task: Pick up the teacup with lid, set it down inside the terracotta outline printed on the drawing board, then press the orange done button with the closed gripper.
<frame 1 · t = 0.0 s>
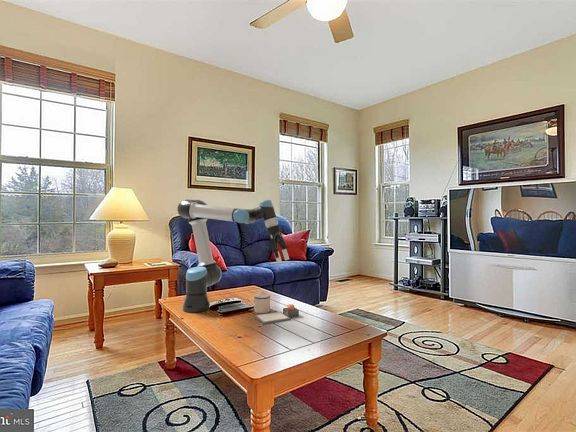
hand: (283, 261, 184), 28 cm above the table, tool tilted 20°, fingers open, 13 cm apart
drawing board: (272, 318, 170), on the table
teacup with lid: (260, 311, 183), on the table
button housing: (290, 315, 175), on the table
done button: (290, 308, 175), point 4 cm above the table, slide at 0.0 cm
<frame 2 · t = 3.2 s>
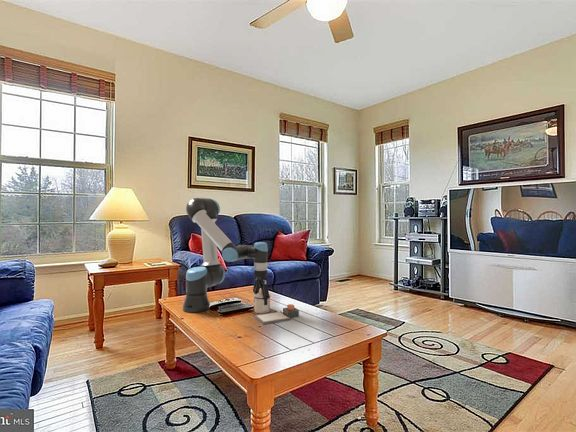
hand: (260, 307, 183), 2 cm above the table, tool pointing down, fingers closed on teacup with lid, 12 cm apart
teacup with lid: (260, 311, 183), on the table, touching gripper
everything else where it was.
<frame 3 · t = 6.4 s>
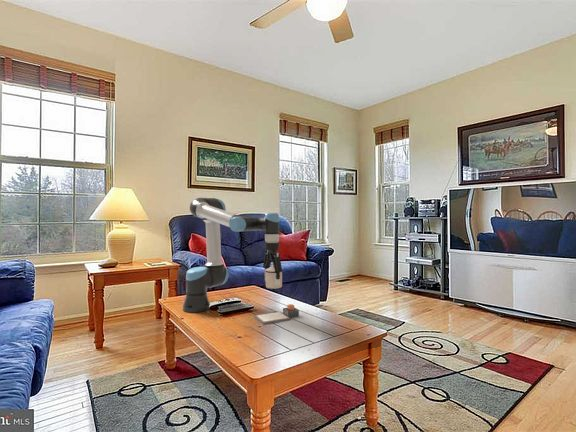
hand: (272, 283, 170), 19 cm above the table, tool pointing down, fingers closed on teacup with lid, 12 cm apart
teacup with lid: (272, 286, 170), point 17 cm above the table, touching gripper
everything else where it was.
when the fingers open (4 cm above the table, at t = 9.8 s): teacup with lid drops 1 cm, resting on drawing board.
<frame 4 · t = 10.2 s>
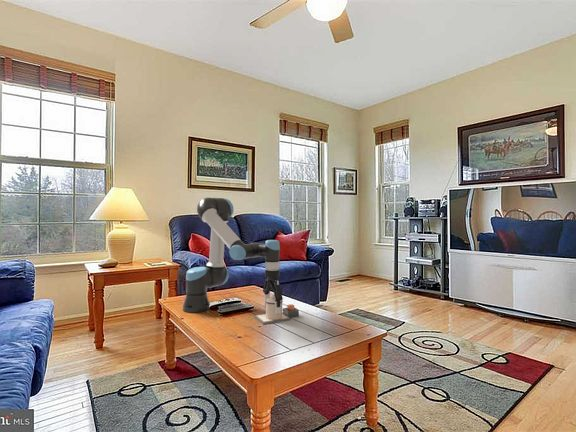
hand: (272, 309, 170), 5 cm above the table, tool pointing down, fingers open, 13 cm apart
teacup with lid: (272, 317, 169), point 1 cm above the table, touching drawing board
everything else where it was.
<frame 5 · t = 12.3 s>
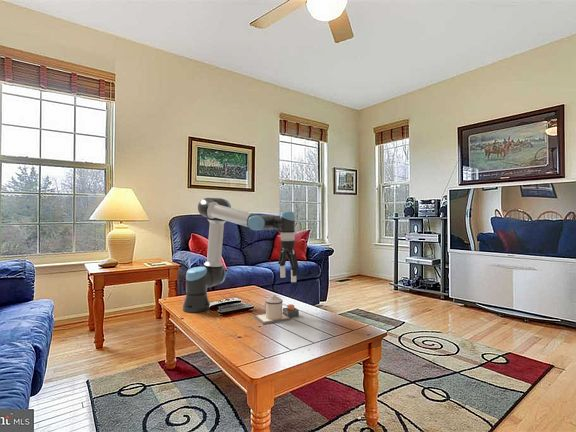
hand: (288, 279, 173), 20 cm above the table, tool pointing down, fingers open, 13 cm apart
nothing on the table moved.
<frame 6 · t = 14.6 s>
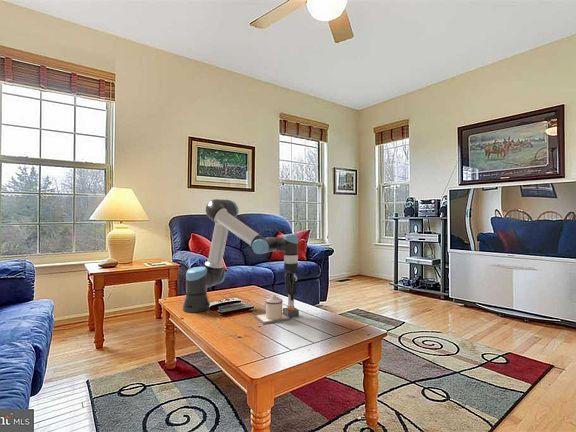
hand: (291, 305, 174), 5 cm above the table, tool pointing down, fingers closed
done button: (290, 309, 175), point 3 cm above the table, slide at 0.6 cm, touching gripper
everything else where it was.
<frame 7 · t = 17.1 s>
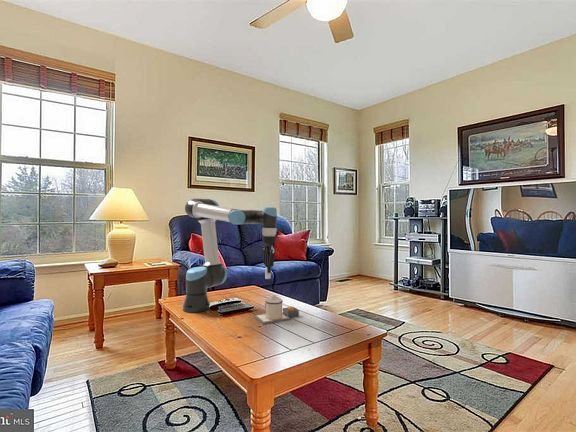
hand: (267, 278, 176), 20 cm above the table, tool pointing down, fingers closed
done button: (290, 310, 175), point 3 cm above the table, slide at 1.1 cm
everything else where it was.
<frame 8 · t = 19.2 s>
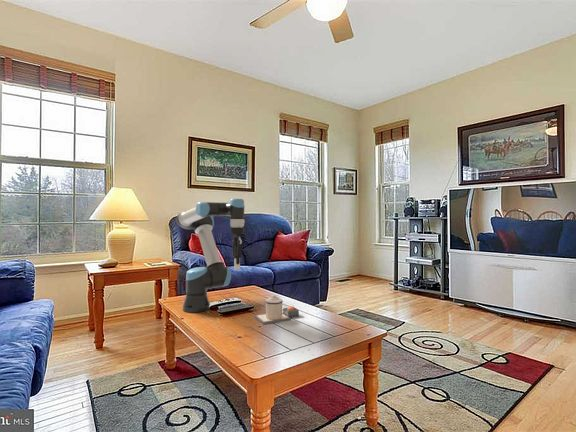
hand: (237, 269, 176), 24 cm above the table, tool pointing down, fingers closed
nothing on the table moved.
at the end: teacup with lid 0.2 cm off-centre on the drawing board, point 0.7 cm above the drawing board's base; teacup with lid tilted 0°; done button slide at 1.1 cm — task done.
